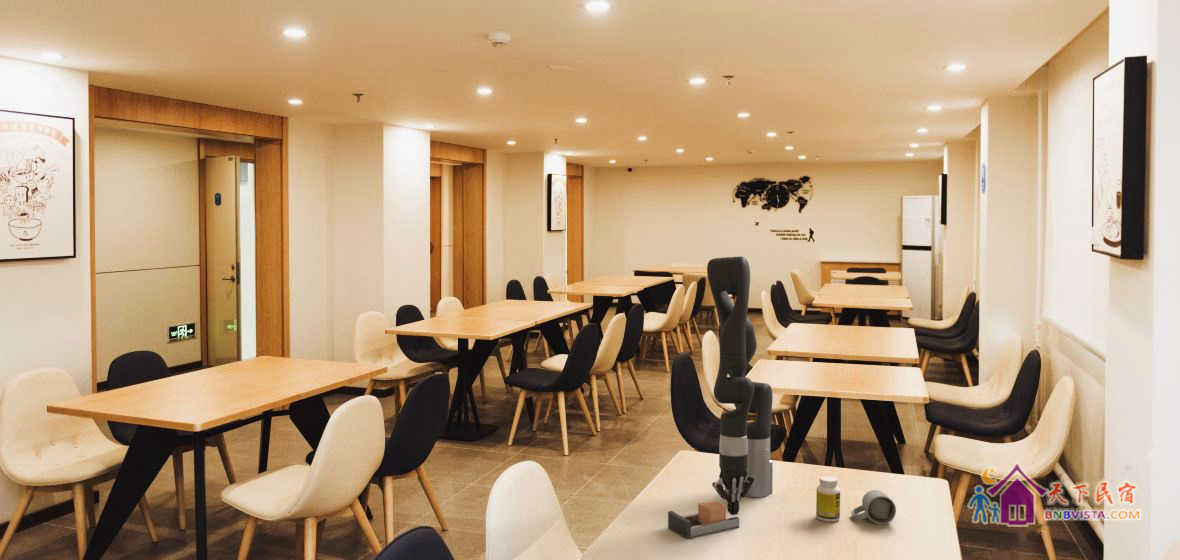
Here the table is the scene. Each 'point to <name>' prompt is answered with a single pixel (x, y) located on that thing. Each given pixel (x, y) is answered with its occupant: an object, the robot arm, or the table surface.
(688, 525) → the chute
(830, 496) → the pill bottle
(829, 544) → the table surface
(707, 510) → the block
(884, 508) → the ceramic mug
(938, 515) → the table surface
